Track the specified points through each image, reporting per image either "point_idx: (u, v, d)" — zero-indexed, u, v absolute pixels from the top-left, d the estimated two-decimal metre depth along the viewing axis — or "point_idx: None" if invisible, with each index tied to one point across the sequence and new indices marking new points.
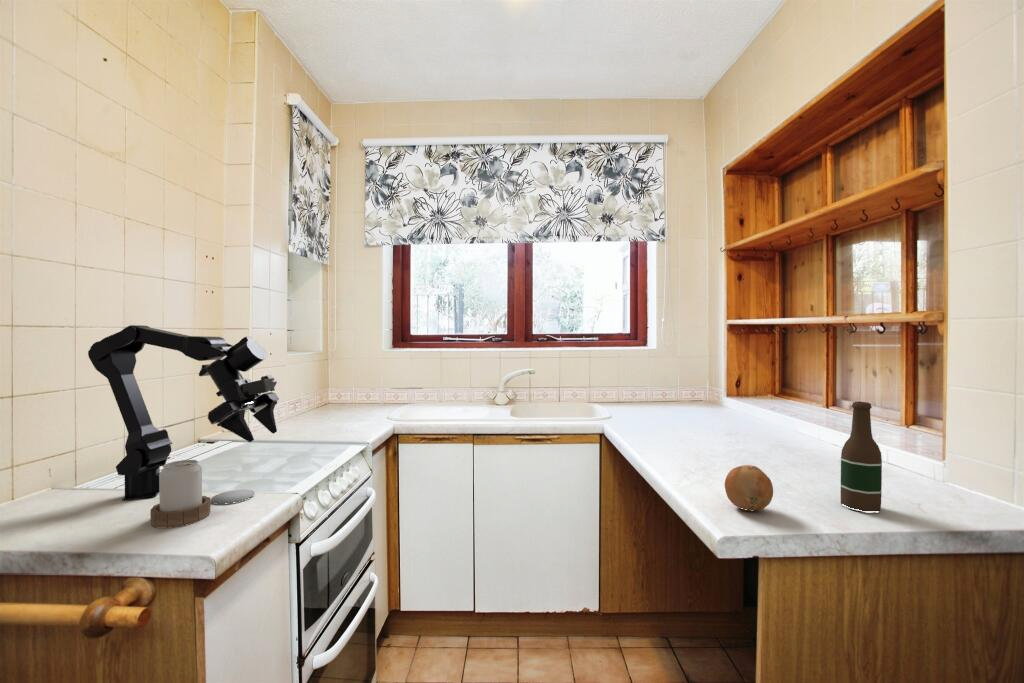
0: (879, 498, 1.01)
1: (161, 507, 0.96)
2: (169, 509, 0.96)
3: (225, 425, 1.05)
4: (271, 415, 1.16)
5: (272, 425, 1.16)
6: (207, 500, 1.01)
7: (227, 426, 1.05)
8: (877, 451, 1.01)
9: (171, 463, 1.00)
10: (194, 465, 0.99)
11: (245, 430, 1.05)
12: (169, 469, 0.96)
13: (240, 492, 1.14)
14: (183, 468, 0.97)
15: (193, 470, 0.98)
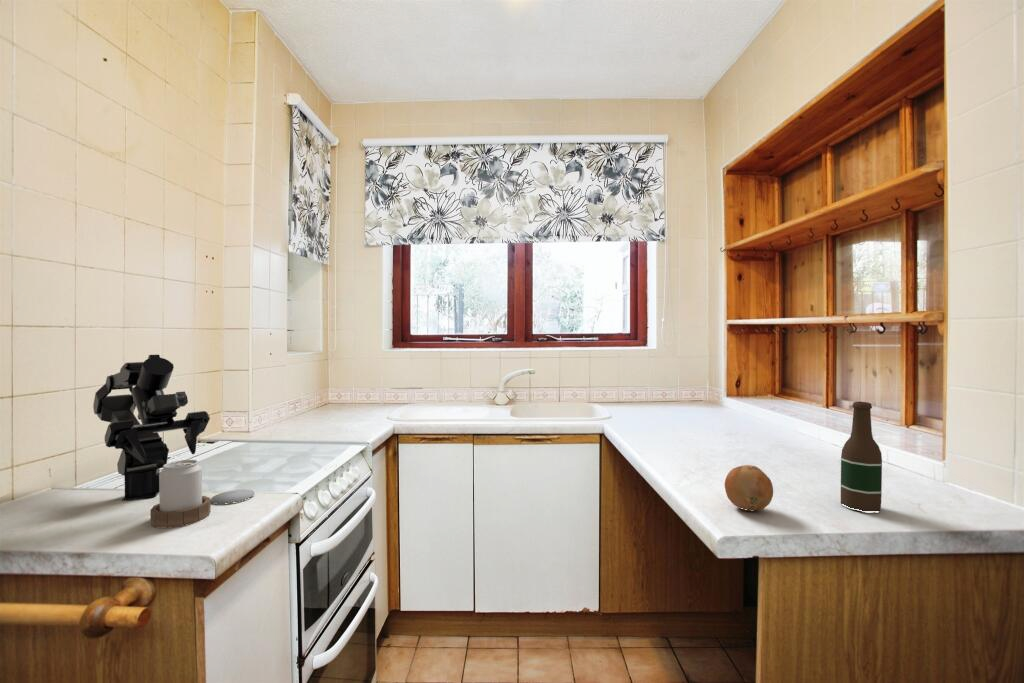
0: (879, 498, 1.01)
1: (161, 507, 0.96)
2: (169, 509, 0.96)
3: (124, 447, 1.00)
4: (192, 434, 1.08)
5: (191, 445, 1.07)
6: (207, 500, 1.01)
7: (126, 448, 1.00)
8: (877, 451, 1.01)
9: (171, 463, 1.00)
10: (194, 465, 0.99)
11: (137, 451, 0.99)
12: (169, 469, 0.96)
13: (240, 492, 1.14)
14: (183, 468, 0.97)
15: (193, 470, 0.98)
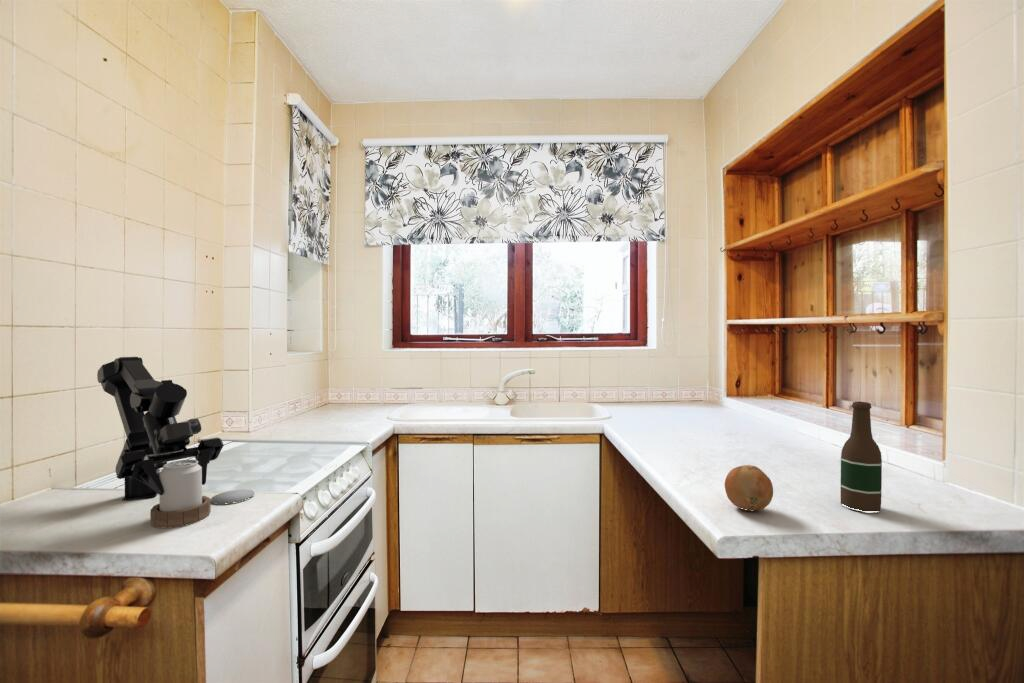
0: (879, 498, 1.01)
1: (161, 507, 0.96)
2: (169, 509, 0.96)
3: (140, 477, 0.97)
4: (202, 463, 1.03)
5: None
6: (207, 500, 1.01)
7: (141, 478, 0.97)
8: (877, 451, 1.01)
9: (171, 463, 1.00)
10: (194, 465, 0.99)
11: (153, 482, 0.95)
12: (169, 469, 0.96)
13: (240, 492, 1.14)
14: (183, 468, 0.97)
15: (193, 470, 0.98)
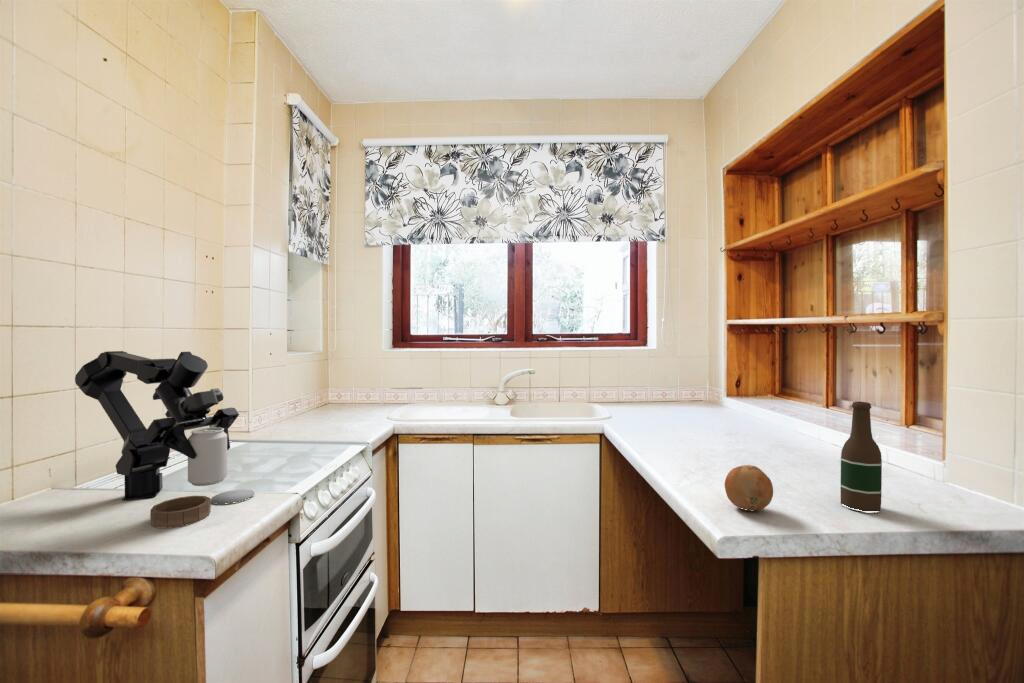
0: (879, 498, 1.01)
1: (192, 471, 1.01)
2: (201, 472, 1.01)
3: (168, 444, 1.01)
4: None
5: None
6: (207, 500, 1.01)
7: (170, 445, 1.00)
8: (877, 451, 1.01)
9: (196, 430, 1.04)
10: (222, 431, 1.05)
11: (185, 446, 1.00)
12: (201, 434, 1.01)
13: (240, 492, 1.14)
14: (214, 433, 1.03)
15: (222, 436, 1.04)
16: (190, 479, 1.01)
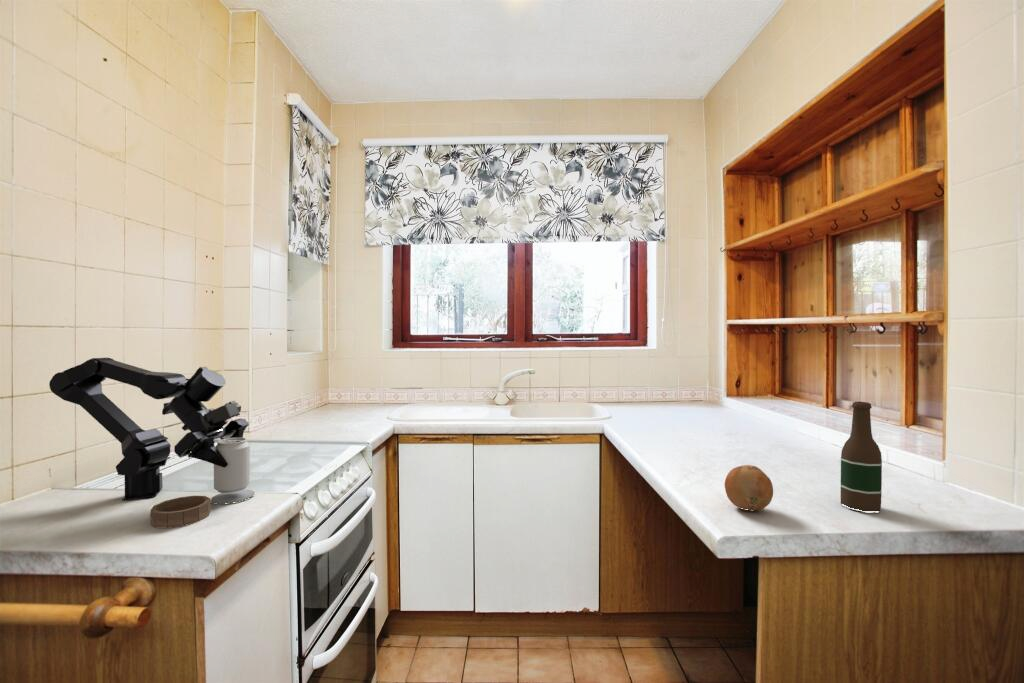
0: (879, 498, 1.01)
1: (222, 479, 1.08)
2: (232, 479, 1.08)
3: (196, 455, 1.06)
4: None
5: None
6: (207, 500, 1.01)
7: (199, 456, 1.06)
8: (877, 451, 1.01)
9: (219, 441, 1.11)
10: (246, 440, 1.13)
11: (217, 456, 1.07)
12: (230, 444, 1.09)
13: (240, 492, 1.14)
14: (242, 443, 1.11)
15: (248, 445, 1.12)
16: (220, 487, 1.08)
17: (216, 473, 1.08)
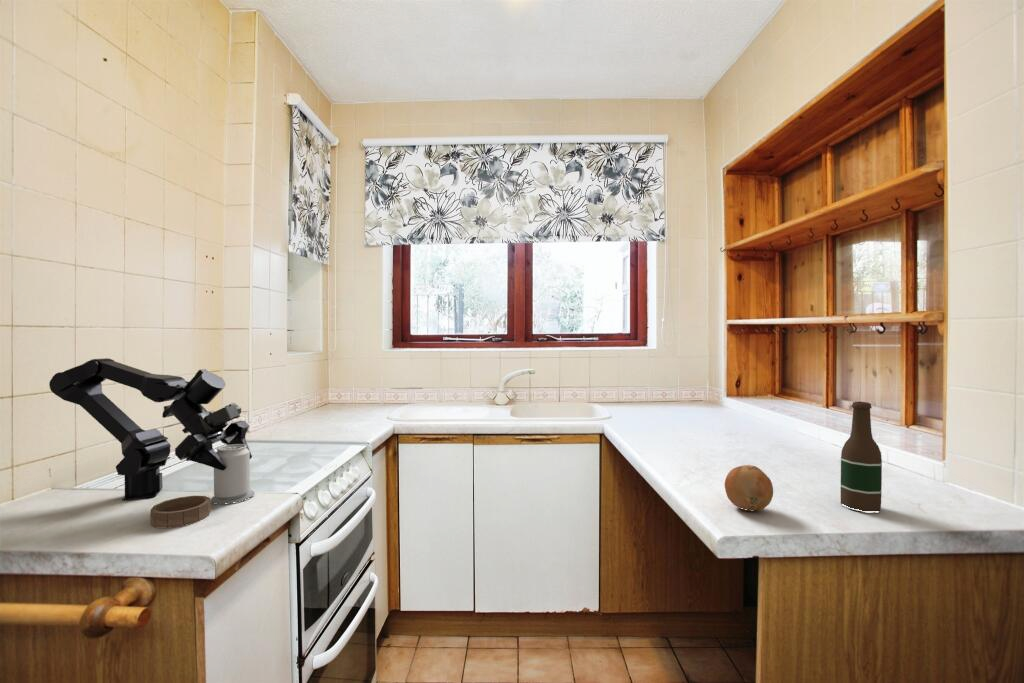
0: (879, 498, 1.01)
1: (223, 486, 1.08)
2: (233, 486, 1.08)
3: (195, 458, 1.05)
4: (243, 442, 1.17)
5: None
6: (207, 500, 1.01)
7: (197, 459, 1.05)
8: (877, 451, 1.01)
9: (219, 448, 1.11)
10: None
11: (216, 459, 1.06)
12: (230, 451, 1.09)
13: None
14: (242, 449, 1.11)
15: (248, 451, 1.12)
16: (220, 494, 1.08)
17: (216, 480, 1.08)
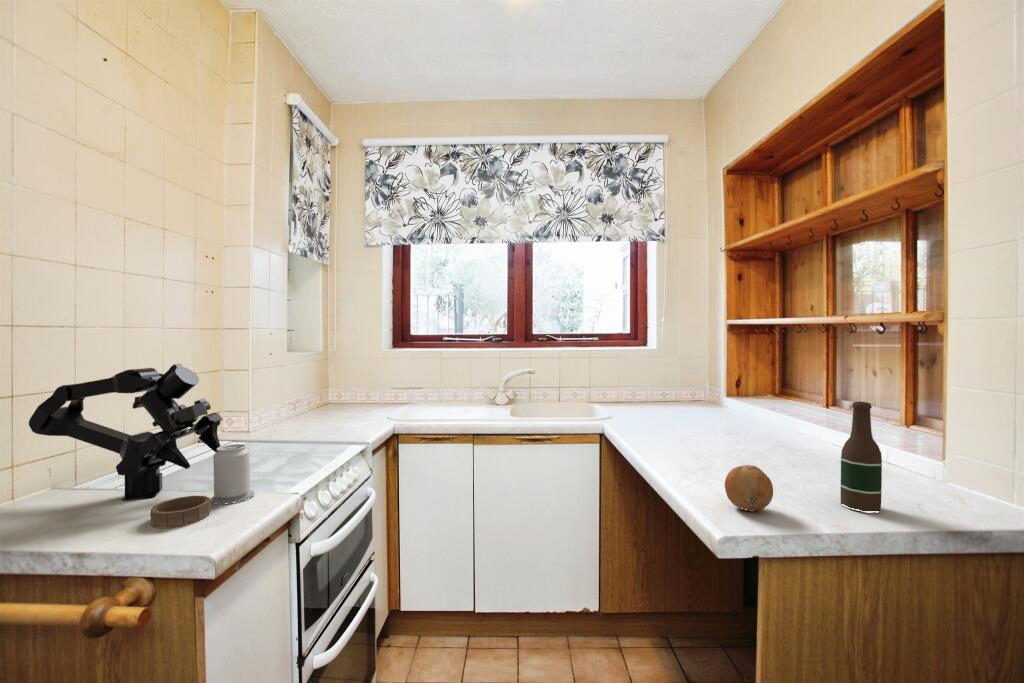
0: (879, 498, 1.01)
1: (223, 486, 1.08)
2: (233, 486, 1.08)
3: (160, 455, 1.07)
4: (213, 436, 1.17)
5: (216, 446, 1.17)
6: (207, 500, 1.01)
7: (162, 456, 1.07)
8: (877, 451, 1.01)
9: (218, 448, 1.11)
10: (245, 447, 1.13)
11: (179, 458, 1.07)
12: (230, 451, 1.09)
13: None
14: (241, 449, 1.11)
15: (248, 451, 1.12)
16: (220, 494, 1.08)
17: (216, 480, 1.08)
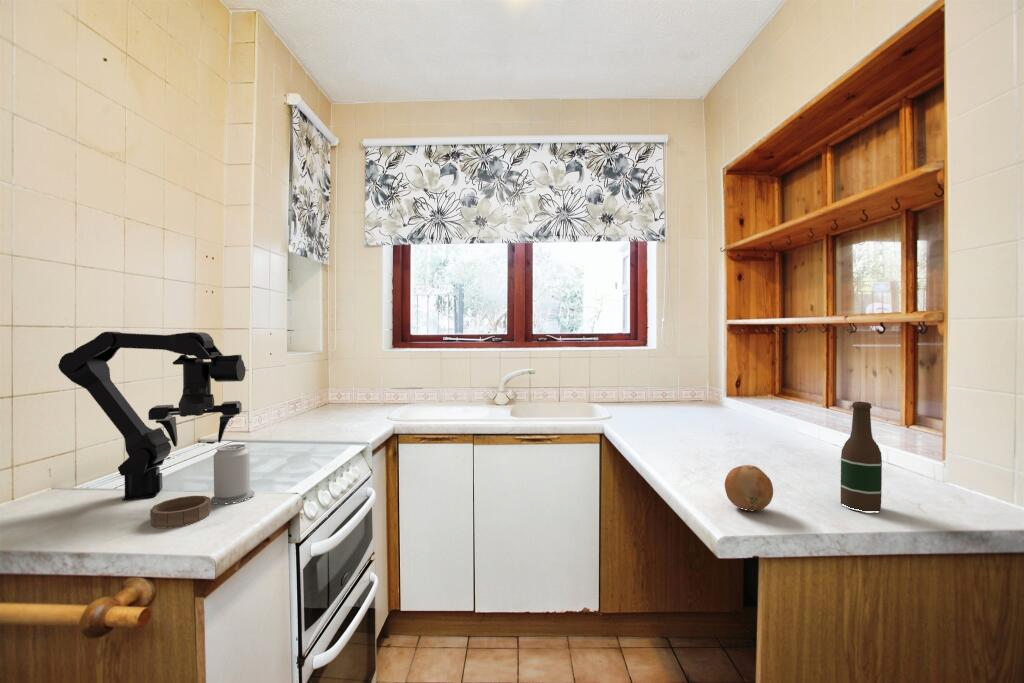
0: (879, 498, 1.01)
1: (223, 486, 1.08)
2: (233, 486, 1.08)
3: None
4: (220, 426, 1.17)
5: (218, 435, 1.17)
6: (207, 500, 1.01)
7: None
8: (877, 451, 1.01)
9: (219, 448, 1.11)
10: None
11: None
12: (230, 451, 1.09)
13: None
14: (242, 449, 1.11)
15: (248, 451, 1.12)
16: (220, 494, 1.08)
17: (216, 480, 1.08)
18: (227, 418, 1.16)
